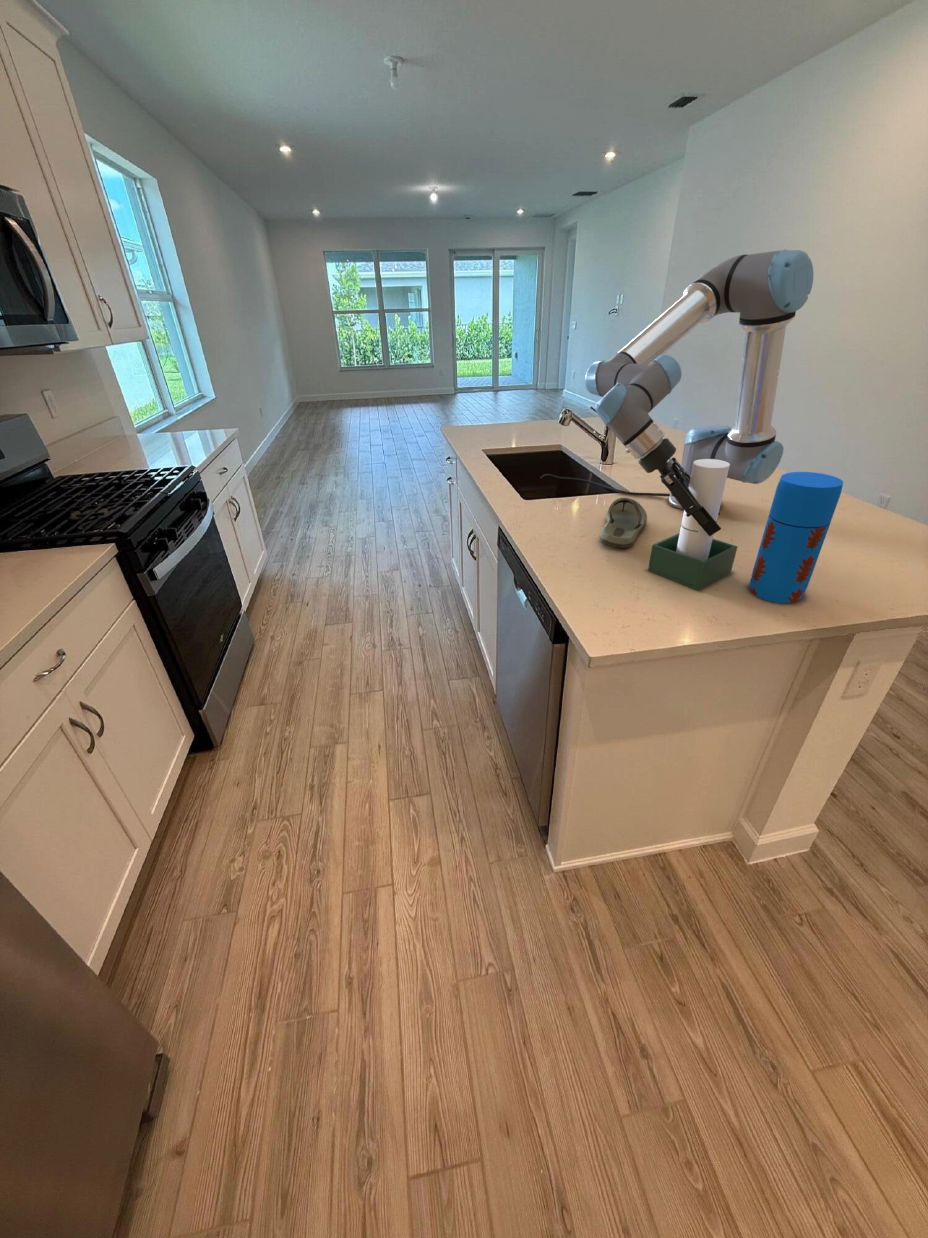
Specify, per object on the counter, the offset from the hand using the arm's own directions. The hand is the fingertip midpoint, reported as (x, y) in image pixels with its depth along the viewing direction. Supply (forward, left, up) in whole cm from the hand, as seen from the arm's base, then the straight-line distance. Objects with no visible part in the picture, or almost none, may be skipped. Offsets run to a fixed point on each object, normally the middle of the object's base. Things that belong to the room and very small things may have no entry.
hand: (714, 524), depth 114 cm
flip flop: (-30, +7, -13) cm, 33 cm away
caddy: (-3, -2, -12) cm, 13 cm away
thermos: (+15, +4, -13) cm, 20 cm away
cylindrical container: (-3, -2, -12) cm, 12 cm away
